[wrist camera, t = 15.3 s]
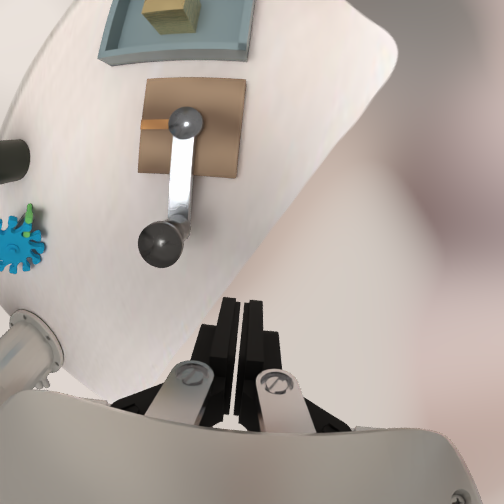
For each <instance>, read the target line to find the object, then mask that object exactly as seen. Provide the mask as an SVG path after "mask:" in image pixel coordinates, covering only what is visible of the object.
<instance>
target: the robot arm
mask: <svg viewBox="0 0 504 504" xmlns="http://www.w3.org/2000/svg"><path fill="white" fill-rule="evenodd" d="M239 313H240V302H236V298H228V297H223V301H222V304H221V309H220V313H219V317H218V322H217V326H214V325H206V324H202V325H201V327H200V331H199V334H198V337H197V340H196V343H195V347H194V350H193V353H192V356H191V360H190V361H184V362H180V363H179V364H177V365H176V366H175V367H174V368H173V369H172V371H171V372H170V374H169V375H168V377H167V379H166V380H165V382H164V383H162V384H159V385H157V386H154V387H151V388H149V389H146V390H144V391H141V392H138V393H136V394H133V395H130V396H128V397H125V398H122V399H119V400H117V401H115V402H114V403H113V404H108V402H107V401H105V400H96V399H88V398H80V397H75V396H72V395H68V394H64V393H60V392H54V391H48V390H32V389H33V388H34V387H36V388H37V389H42V388H43V386H44V387H45V388H48V387H50V384H49V381H48V379H47V376H48V375H49V373H51V372H52V373H53V372H57V371H58V370H59V369H60V368H61V366H62V364H63V353H62V350H61V347H60V345H59V342H58V340H57V339H56V337H55V335H54V334H53V333H52V331H51V330H50V329H49V327H48V326H47V325H46V324H45V323H44V322H43V321H42V320H41V319H40V318H38V317H37V316H36V315H34V314H32V313H31V312H28V311H26V310H18V311H16V312H15V313H14V314H13V315H12V316H11V318H10V329H9V330H8V331H7V332H6V333H5V334H4V335H3V336H2V337H1V338H0V504H483V503H482V500H481V497H480V495H479V492H478V489H477V487H476V484H475V482H474V480H473V478H472V475H471V473H470V471H469V469H468V467H467V465H466V463H465V461H464V459H463V457H462V456H461V454H460V453H459V451H458V449H457V448H456V446H455V445H454V444H453V442H452V441H451V440H450V439H449V438H448V437H446V436H445V435H443V434H441V433H438V432H436V431H432V430H426V429H420V428H388V429H384V428H371V427H360V426H356V427H355V429H350V427H349V426H348V425H347V424H345V423H344V422H342V421H341V420H339V419H338V418H336V417H334V416H333V415H331V414H329V413H328V412H326V411H325V410H323V409H321V408H320V407H318V406H317V405H315V404H314V403H312V402H311V401H309V400H307V399H306V398H304V397H303V395H302V392H301V389H300V386H299V384H298V381H297V380H296V378H295V377H294V376H293V375H292V374H291V373H289V372H287V371H284V370H282V364H281V354H280V343H279V334H278V332H274V331H263V302H262V301H257V300H250V302H249V303H244V313H243V322H242V332H241V341H240V351H239V361H238V372H237V383H236V394H235V405H234V415H237V416H239V423H240V424H242V425H243V426H244V427H245V428H246V429H247V431H238V430H228V429H219V428H213V425H215V424H217V423H219V422H223V415H224V414H226V415H229V409H230V400H231V391H232V382H233V373H234V364H235V354H236V344H237V333H238V323H239Z"/></svg>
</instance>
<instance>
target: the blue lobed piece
mask: <svg viewBox="0 0 504 504" xmlns="http://www.w3.org/2000/svg"><path fill="white" fill-rule="evenodd" d="M33 221H34V215H33V213H32V204H28V205H27V212H26V213H24V215H23V216H22V217H21V219H20V220H19V222H17V218H16V217H14V216H9V220H8V228H7V229H6V230H5V231H3V230H1V228H2V219H0V260H2V261H0V271H3V270H4V267H5V266H6V265H8V264H12V265H10V269H9V272H10V273H12V274H16V273H17V265H18V264H19V263H20V262H22V263H23V271H30V263H29V262H28V261H27V259H26V258H27V257H31V258H32V262H33V264H35V265H36V264H38V263H39V262H40V261H41V259H40V255H38V254H35V253H34V252H33V251H32V250H31V249H35V250H36V251H37V252H38V253H39V254H42V253H43V251H44V243H35V242H32V241H30V240H31V239H32V240H35V241H37V242H39V241H41V232H40V230H36V231H34V232H32V233H30V231H31V229H32V223H33Z"/></svg>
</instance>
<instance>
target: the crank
mask: <svg viewBox="0 0 504 504" xmlns="http://www.w3.org/2000/svg"><path fill="white" fill-rule="evenodd" d="M168 127H169V131H170V133H171V134H172V135H173V143H172V155H171V168H170V184H169V205H168V219H166V220H165V221H157V222H154V223H152V224H150V225H148V226H147V227H146V228H144V229H143V231H142V232H141V234H140V236H139V239H138V248H139V251H140V254H141V256H142V257H143V259H144V260H145V261H146V262H147V263H149V264H150V265H152V266H154V267H158V268H165V267H169V266H171V265H173V264H174V263H175V262H176V261H177V260H178V258H179V257H180V256H181V254H182V251H183V246H184V244H183V242H184V241H185V239H187V238H188V237H189V236H190V230H191V226H190V221H191V203H192V187H193V174H194V161H195V150H196V139H197V137H198V136H199V135H200V134H201V132H202V130H203V128H204V119H203V116H202V115H201V113H200V112H198V111H197V110H196V109H194V108H192V107H181V108H178V109H177V110H175V111H174V112H173V113H172V114H171V116H170V118H169V122H168Z"/></svg>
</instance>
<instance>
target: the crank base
mask: <svg viewBox="0 0 504 504" xmlns="http://www.w3.org/2000/svg"><path fill="white" fill-rule="evenodd" d="M245 91H246V80H245V79H231V78H204V77H180V78H154V79H147V84H146V91H145V99H144V107H143V115H142V120H141V128H140V129H141V135H140V147H139V161H138V173H160V174H170V168H171V155H172V143H173V135H172V134H171V133H170V131H169V127H168V122H169V118H170V116H171V114H172V113H173V112H174V111H175V110H177V109H178V108H181V107H192V108H194V109H196V110H197V111H198V112H200V113H201V115H202V116H203V119H204V128H203V130H202V132H201V134H200V135H199V136H198V137H197V139H196V150H195V161H194V174H193V175H197V176H211V177H224V178H236V175H237V165H238V155H239V145H240V136H241V126H242V117H243V108H244V99H245Z"/></svg>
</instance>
